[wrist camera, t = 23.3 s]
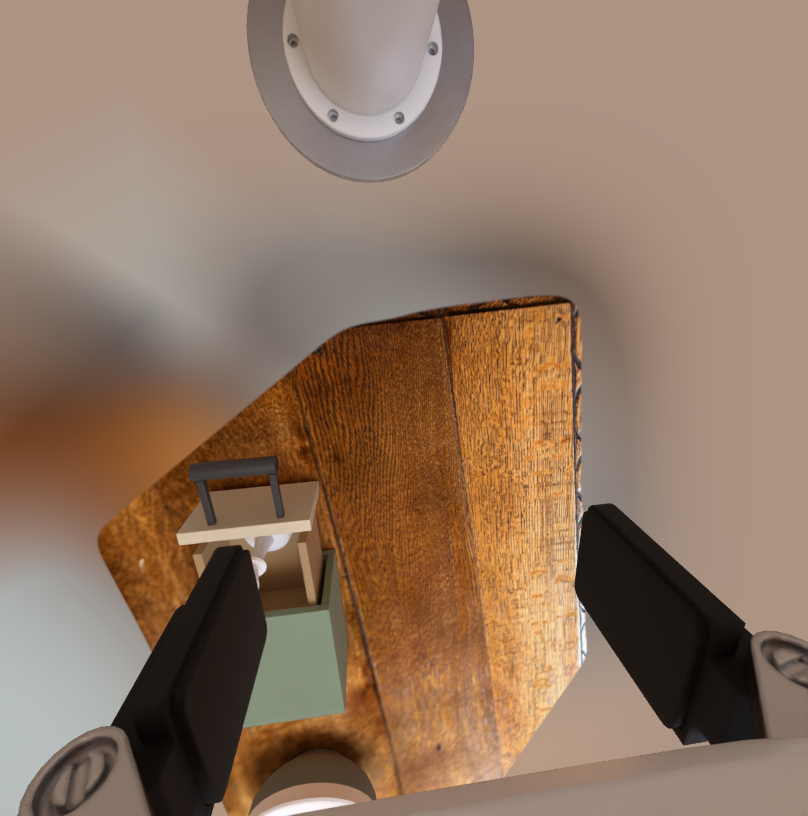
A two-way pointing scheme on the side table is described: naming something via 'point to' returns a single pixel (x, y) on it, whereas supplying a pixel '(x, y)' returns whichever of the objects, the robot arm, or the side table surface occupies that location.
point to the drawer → (260, 528)
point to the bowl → (312, 785)
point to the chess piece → (265, 550)
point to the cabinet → (303, 659)
